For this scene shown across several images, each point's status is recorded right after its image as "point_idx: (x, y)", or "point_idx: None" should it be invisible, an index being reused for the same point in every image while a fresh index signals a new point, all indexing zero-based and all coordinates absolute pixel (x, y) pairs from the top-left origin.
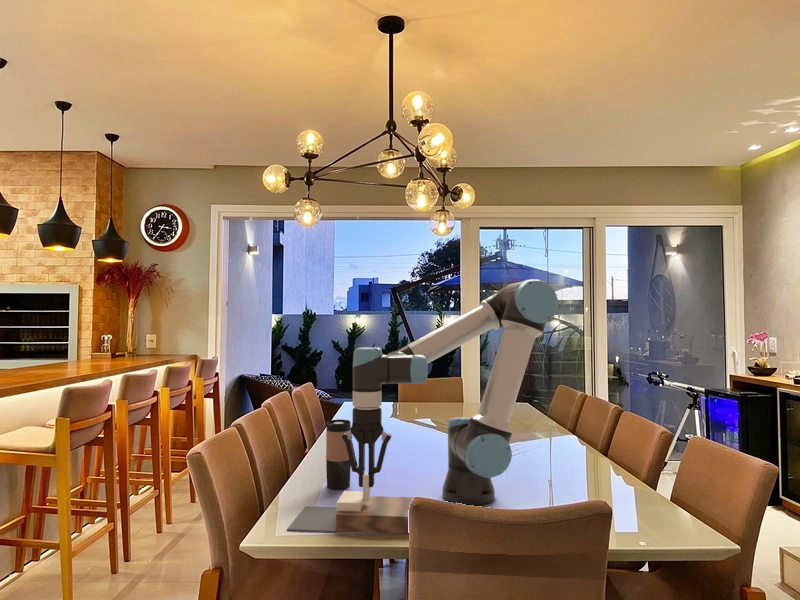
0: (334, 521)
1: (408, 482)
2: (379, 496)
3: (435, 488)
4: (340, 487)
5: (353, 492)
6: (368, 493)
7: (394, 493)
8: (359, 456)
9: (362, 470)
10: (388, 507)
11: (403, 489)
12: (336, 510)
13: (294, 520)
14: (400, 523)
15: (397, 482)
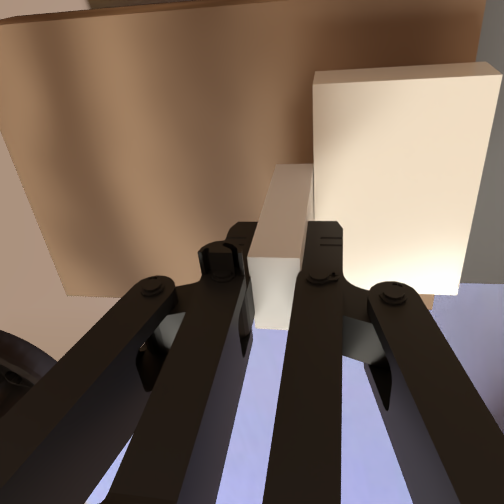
0: None
1: (228, 484)
2: None
3: (129, 442)
4: None
5: (392, 274)
6: (269, 188)
7: (251, 413)
8: (329, 409)
9: (301, 290)
10: (166, 159)
11: None
12: (477, 245)
13: None
14: (70, 15)
15: (264, 486)
